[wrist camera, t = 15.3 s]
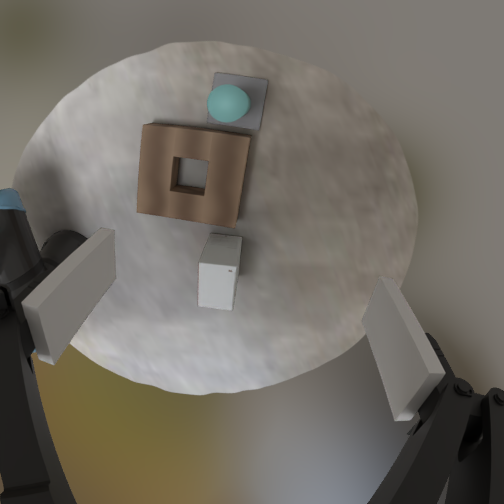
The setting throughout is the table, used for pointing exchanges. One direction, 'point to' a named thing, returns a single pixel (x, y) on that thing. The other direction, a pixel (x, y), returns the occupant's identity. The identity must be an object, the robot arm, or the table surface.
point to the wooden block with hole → (185, 197)
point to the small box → (219, 271)
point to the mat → (254, 91)
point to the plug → (228, 103)
